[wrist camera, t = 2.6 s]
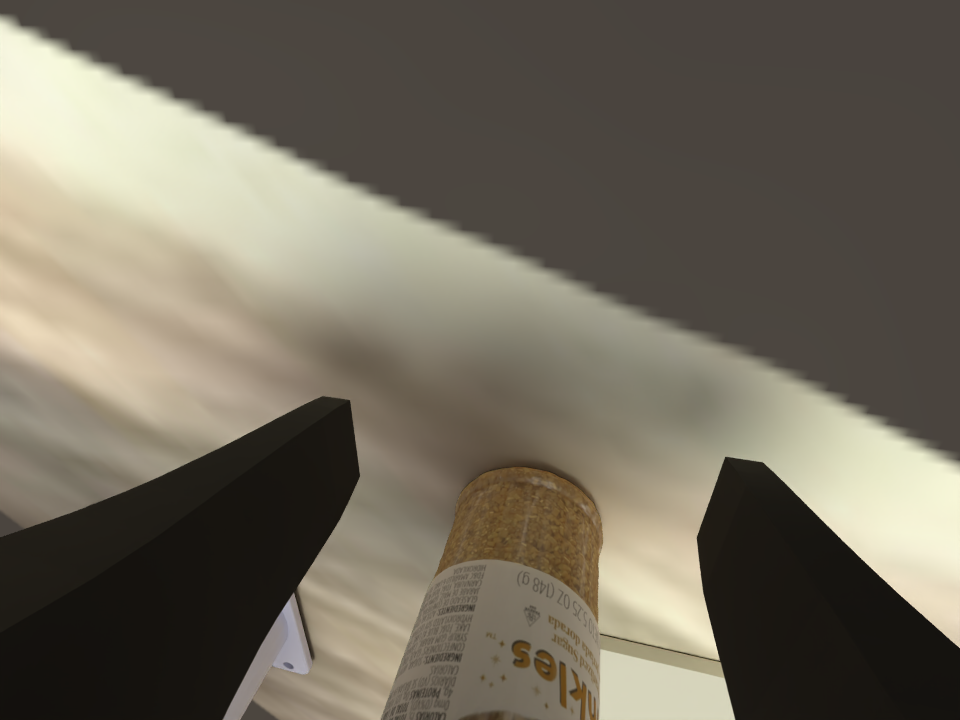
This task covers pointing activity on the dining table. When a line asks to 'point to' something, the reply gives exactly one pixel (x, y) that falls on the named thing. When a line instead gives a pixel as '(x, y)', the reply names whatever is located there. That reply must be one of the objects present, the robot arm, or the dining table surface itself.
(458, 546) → the sprinkles bottle
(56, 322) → the dining table surface
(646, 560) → the dining table surface
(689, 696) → the sage mat
